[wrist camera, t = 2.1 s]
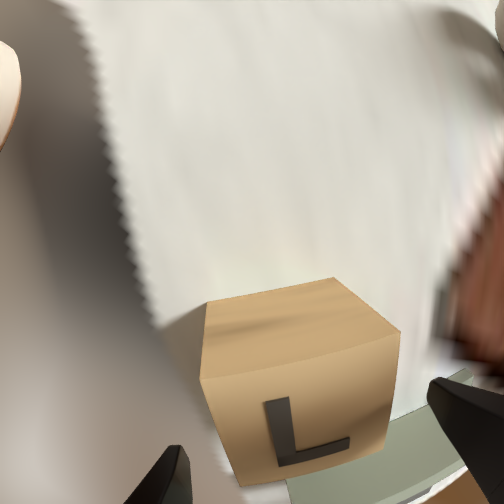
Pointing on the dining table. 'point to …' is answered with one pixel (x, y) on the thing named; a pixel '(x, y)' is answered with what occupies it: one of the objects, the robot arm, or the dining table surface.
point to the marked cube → (298, 379)
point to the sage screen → (387, 464)
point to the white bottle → (8, 90)
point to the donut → (500, 23)
